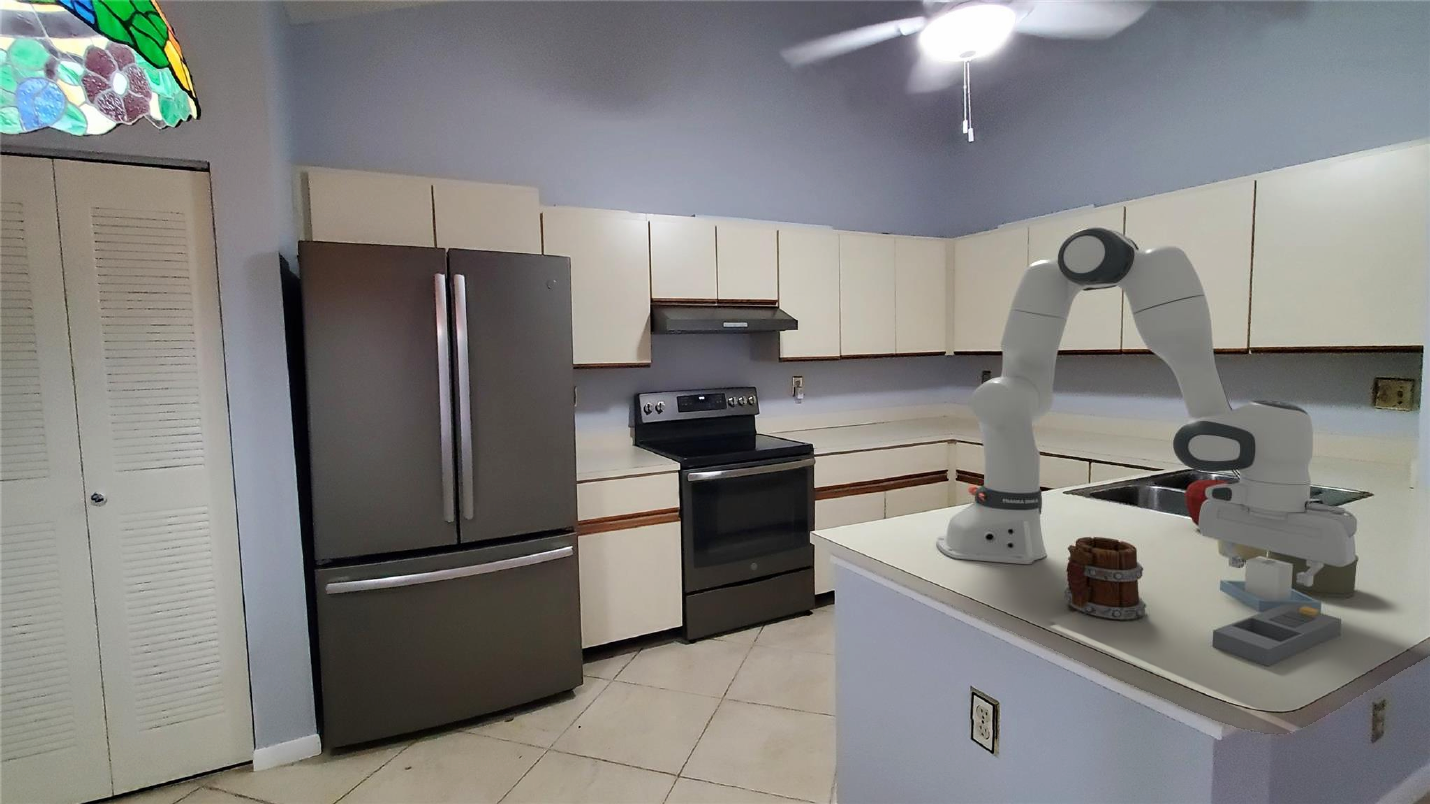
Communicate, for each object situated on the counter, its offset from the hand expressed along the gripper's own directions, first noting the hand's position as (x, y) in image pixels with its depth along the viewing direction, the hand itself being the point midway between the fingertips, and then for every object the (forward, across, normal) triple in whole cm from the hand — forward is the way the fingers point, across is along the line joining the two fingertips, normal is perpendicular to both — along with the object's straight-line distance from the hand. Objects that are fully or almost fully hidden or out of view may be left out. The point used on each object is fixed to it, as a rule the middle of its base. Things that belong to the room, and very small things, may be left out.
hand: (1268, 575), depth 104 cm
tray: (+5, 0, 0) cm, 5 cm away
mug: (+6, +11, +29) cm, 31 cm away
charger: (+5, 0, 0) cm, 5 cm away
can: (+6, +1, -17) cm, 18 cm away
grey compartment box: (+5, -8, +14) cm, 17 cm away
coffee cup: (+6, +15, -26) cm, 31 cm away
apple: (+6, +28, -41) cm, 50 cm away
